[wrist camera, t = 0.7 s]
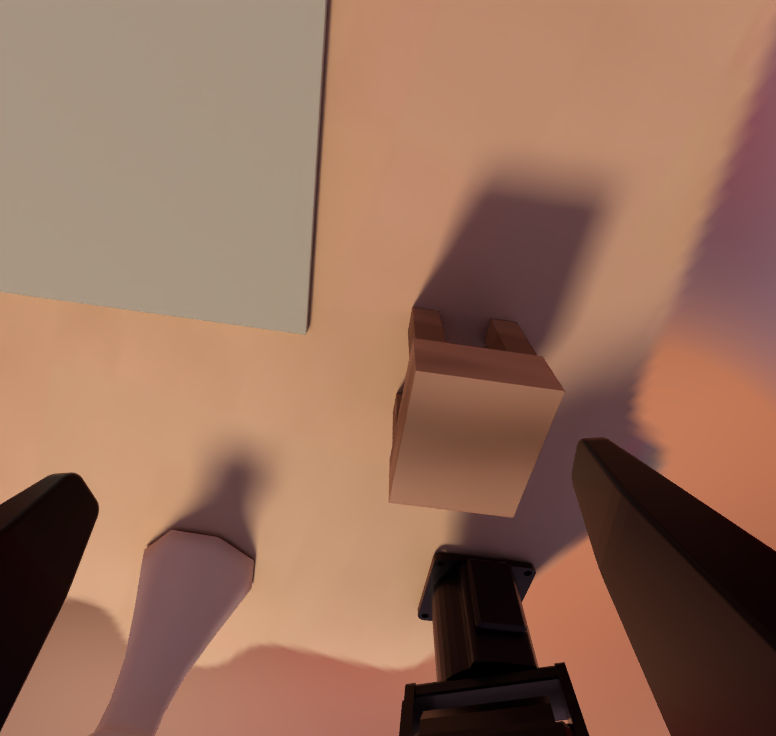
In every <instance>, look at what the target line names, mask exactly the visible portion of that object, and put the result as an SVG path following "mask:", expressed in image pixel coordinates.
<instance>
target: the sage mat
mask: <svg viewBox="0 0 776 736" xmlns="http://www.w3.org/2000/svg"><path fill="white" fill-rule="evenodd" d="M327 2H328V0H0V292H4V293H11V294H18V295H25V296H32V297H39V298H46V299H54V300H61V301H68V302H75V303H82V304H89V305H96V306H103V307H111V308H118V309H125V310H132V311H139V312H146V313H153V314H160V315H168V316H175V317H182V318H189V319H196V320H203V321H210V322H218V323H225V324H232V325H239V326H246V327H253V328H260V329H267V330H275V331H282V332H289V333H296V334H303V335H306V333H307V330H308V313H309V297H310V281H311V264H312V248H313V231H314V215H315V199H316V182H317V166H318V150H319V133H320V117H321V100H322V84H323V68H324V51H325V35H326V19H327Z"/></svg>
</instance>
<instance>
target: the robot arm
mask: <svg viewBox="0 0 776 736" xmlns="http://www.w3.org/2000/svg"><path fill="white" fill-rule="evenodd" d="M572 482H573V486H574V490H575V493H576V496H577V499H578V503H579V506H580V509H581V512H582V516H583V519H584V522H585V525H586V529H587V532H588V535H589V538H590V541H591V545H592V548H593V551H594V555H595V558H596V561H597V564H598V567H599V569H600V572H601V575H602V577H603V579H604V582H605V584H606V587H607V589H608V591H609V594H610V596H611V598H612V601H613V603H614V605H615V607H616V610H617V612H618V614H619V617H620V619H621V621H622V624H623V626H624V628H625V631H626V633H627V635H628V638H629V640H630V642H631V645H632V647H633V649H634V652H635V654H636V656H637V658H638V661H639V663H640V665H641V668H642V670H643V672H644V674H645V677H646V679H647V682H648V684H649V686H650V688H651V691H652V693H653V695H654V698H655V700H656V702H657V705H658V707H659V709H660V712H661V714H662V716H663V719H664V721H665V723H666V726H667V728H668V730H669V732H670V735H671V736H776V551H775V550H773V549H772V548H770V547H769V546H767V545H765V544H764V543H763V542H761V541H759V540H758V539H757V538H755V537H753V536H752V535H751V534H749V533H747V532H746V531H745V530H743V529H741V528H740V527H739V526H737V525H736V524H734V523H733V522H731V521H730V520H728V519H727V518H725V517H724V516H722V515H721V514H719V513H718V512H716V511H715V510H713V509H712V508H710V507H709V506H707V505H706V504H704V503H703V502H701V501H700V500H698V499H697V498H695V497H694V496H692V495H691V494H689V493H688V492H686V491H685V490H683V489H682V488H680V487H679V486H677V485H676V484H674V483H673V482H671V481H670V480H668V479H667V478H665V477H664V476H662V475H661V474H659V473H658V472H656V471H655V470H653V469H652V468H650V467H649V466H647V465H646V464H644V463H643V462H641V461H640V460H638V459H637V458H635V457H634V456H632V455H631V454H629V453H628V452H626V451H625V450H623V449H622V448H620V447H619V446H617V445H616V444H614V443H613V442H611V441H610V440H608V439H606V438H603V437H597V438H584V439H581V440H580V441H579V442H578V445H577V449H576V454H575V459H574V465H573V470H572ZM98 513H99V505H98V502H97V500H96V498H95V497H94V495H93V494H92V492H91V491H90V489H89V488H88V486H87V485H86V483H85V482H84V480H83V479H82V477H81V476H80V475H78V474H76V473H58V474H52V475H49V476H47V477H45V478H44V479H42V480H40V481H39V482H37V483H35V484H34V485H32V486H30V487H29V488H27V489H25V490H24V491H22V492H20V493H19V494H17V495H15V496H14V497H12V498H11V499H9V500H7V501H6V502H4V503H2V504H1V505H0V732H1V729H2V727H3V725H4V723H5V721H6V719H7V717H8V715H9V713H10V711H11V709H12V707H13V705H14V703H15V701H16V699H17V697H18V695H19V693H20V691H21V689H22V687H23V684H24V683H25V681H26V679H27V677H28V675H29V673H30V671H31V668H32V666H33V664H34V662H35V660H36V658H37V656H38V654H39V652H40V650H41V648H42V646H43V644H44V642H45V640H46V638H47V636H48V634H49V632H50V630H51V628H52V626H53V624H54V622H55V620H56V618H57V616H58V614H59V611H60V609H61V607H62V605H63V603H64V601H65V599H66V596H67V594H68V592H69V589H70V587H71V584H72V582H73V579H74V577H75V574H76V571H77V569H78V566H79V564H80V561H81V558H82V556H83V553H84V551H85V548H86V545H87V543H88V540H89V538H90V535H91V532H92V530H93V527H94V525H95V522H96V519H97V517H98ZM535 574H536V571H535V568H534V566H533V564H531V563H526V562H518V561H509V560H500V559H491V558H483V557H474V556H465V555H457V554H448V553H438V554H436V555H434V557H433V560H432V563H431V567H430V570H429V573H428V577H427V580H426V583H425V587H424V590H423V593H422V597H421V600H420V603H419V607H418V617H419V618H420V619H422V620H428V621H433V634H434V647H435V661H436V675H437V682H432V683H425V684H418V685H416V683H411V684H406V686H405V696H404V700H403V701H402V710H401V722H400V732H399V736H589V733H588V731H587V728H586V725H585V722H584V719H583V716H582V713H581V710H580V707H579V704H578V701H577V698H576V695H575V692H574V689H573V686H572V683H571V680H570V677H569V674H568V671H567V668H566V666H565V663H564V662H562V663H555V664H554V665H555V666H548V667H541V668H539V667H538V664H537V660H536V656H535V652H534V648H533V644H532V640H531V637H530V633H529V629H528V625H527V621H526V618H525V614H524V610H523V606H522V601H523V599H524V597H525V595H526V593H527V591H528V589H529V587H530V584H531V582H532V580H533V578H534V576H535ZM559 720H568V724H566V723H564V722H563V721H560V722H555V721H559Z"/></svg>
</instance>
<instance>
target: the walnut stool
mask: <svg viewBox="0 0 776 736" xmlns="http://www.w3.org/2000/svg"><path fill="white" fill-rule="evenodd" d="M408 340H409V363H408V368H407V373H406V378H405V384H404V389H403V394H399V393H397V394H396V399H395V405H394V410H393V445H392V451H391V456H390V470H389V503H395V504H403V505H412V506H420V507H428V508H437V509H445V510H453V511H462V512H470V513H478V514H487V515H495V516H503V517H512V518H513V517H514V514H515V512H516V509H517V507H518V505H519V502H520V500H521V497H522V495H523V492H524V490H525V487H526V485H527V483H528V480H529V478H530V475H531V473H532V470H533V468H534V465H535V463H536V461H537V458H538V456H539V453H540V451H541V448H542V446H543V443H544V441H545V439H546V436H547V434H548V431H549V429H550V426H551V424H552V421H553V419H554V416H555V414H556V412H557V409H558V407H559V404H560V402H561V399H562V397H563V394H564V392H565V391H564V389H563V388H562V386H561V384H560V383H559V381H558V380H557V378H556V377H555V375H554V374H553V372H552V370H551V369H550V367H549V366H548V364H547V363H546V361H545V359H544V358H543V356H537V354H536V352H535V351H534V349H533V348H532V346H531V344H530V343H529V341H528V340H527V338H526V336H525V335H524V333H523V331H522V330H521V328H520V327H519V325H518V323H517V322H510V321H503V320H497V319H491V321H490V324H489V328H488V331H487V335H486V338H485V342H484V343H485V345H486V348H480V347H473V346H466V345H458V344H451V343H446V340H445V336H444V331H443V327H442V322H441V318H440V314H439V311H435V310H428V309H421V308H414V307H412V313H411V318H410V324H409V329H408Z"/></svg>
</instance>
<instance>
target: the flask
mask: <svg viewBox="0 0 776 736" xmlns="http://www.w3.org/2000/svg"><path fill="white" fill-rule="evenodd" d="M253 567H254V560H252V559H251V558H249V557H248V556H246V555H245V554H243V553H242V552H240V551H239V550H237V549H236V548H234V547H233V546H231V545H230V544H228V543H227V542H225V541H224V540H222V539H221V538H219V537H214V536H208V535H202V534H195V533H189V532H183V531H176V530H170V531H169V532H167V533H166V534H165V535H163V536H162V537H161V538H159V539H158V540H157V541H156V542H154V543H153V544H152V545H150V546H149V547H148V548H146V549H145V550H144V555H143V561H142V566H141V572H140V578H139V585H138V591H137V597H136V604H135V609H134V614H133V619H132V624H131V629H130V634H129V639H128V645H127V650H126V655H125V659H124V662H123V665H122V668H121V671H120V674H119V677H118V680H117V683H116V686H115V689H114V692H113V695H112V698H111V700H110V702H109V704H108V706H107V708H106V710H105V713H104V714H103V716H102V719H101V721H100V723H99V725H98V726H97V728H96V730H95V731H94V733H92V734H90V735H89V736H155V734H156V732H157V729H158V727H159V724H160V722H161V720H162V717H163V715H164V713H165V711H166V709H167V707H168V706H169V704H170V702H171V700H172V699H173V697H174V695H175V693H176V691H177V690H178V688H179V686H180V685H181V683H182V681H183V679H184V677H185V676H186V674H187V673H188V672H189V670H190V669H191V668H192V666H193V665H194V664H195V662H196V661H197V659H198V658H199V657H200V655H201V654H202V653H203V651H204V650H205V648H206V647H207V646H208V644H209V643H210V642H211V640H212V639H213V638H214V636H215V635H216V633H217V632H218V631H219V630H220V628H221V627H222V626H223V624H224V623H225V622H226V621H227V619H228V618H229V617H230V616H231V614H232V613H233V612H234V610H235V609H236V608H237V607H238V605H239V604H240V603H241V602H242V600H243V599H244V598H245V596H246V595H247V593H248V592H249V591H250V589H251V588H252V577H253Z"/></svg>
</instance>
